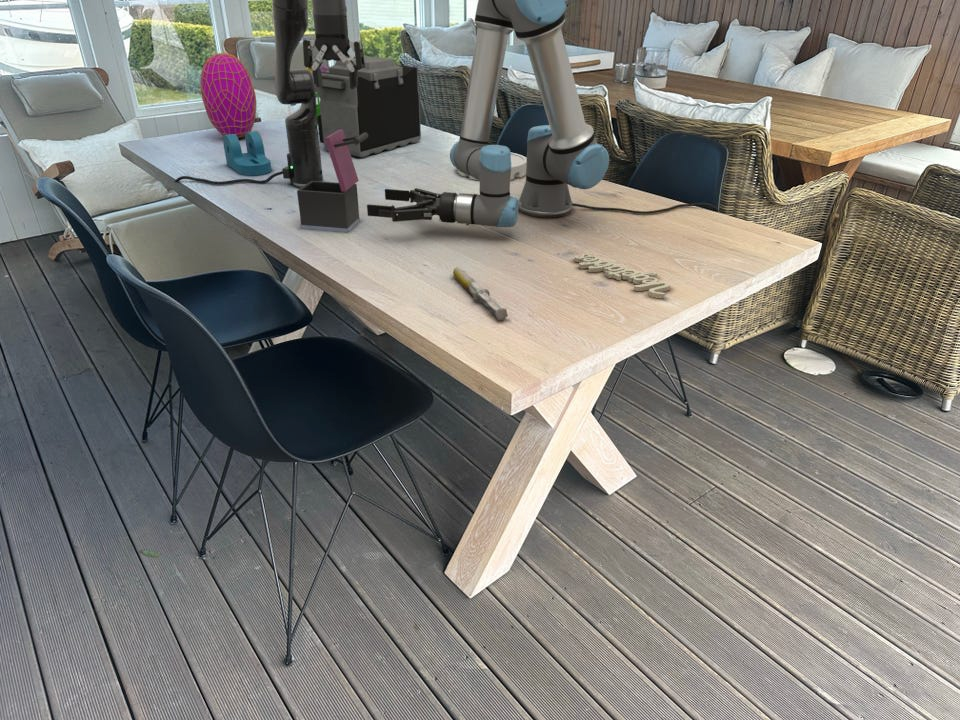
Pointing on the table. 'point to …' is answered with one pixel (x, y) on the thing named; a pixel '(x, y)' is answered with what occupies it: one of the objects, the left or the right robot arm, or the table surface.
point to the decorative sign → (625, 274)
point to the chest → (328, 206)
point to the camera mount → (246, 154)
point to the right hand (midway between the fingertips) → (376, 201)
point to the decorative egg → (228, 95)
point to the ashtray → (516, 167)
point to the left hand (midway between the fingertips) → (336, 87)
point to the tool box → (371, 105)
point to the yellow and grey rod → (479, 293)
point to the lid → (343, 157)
